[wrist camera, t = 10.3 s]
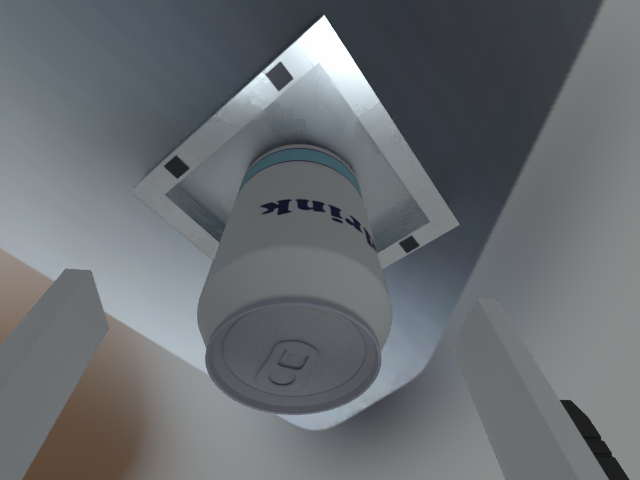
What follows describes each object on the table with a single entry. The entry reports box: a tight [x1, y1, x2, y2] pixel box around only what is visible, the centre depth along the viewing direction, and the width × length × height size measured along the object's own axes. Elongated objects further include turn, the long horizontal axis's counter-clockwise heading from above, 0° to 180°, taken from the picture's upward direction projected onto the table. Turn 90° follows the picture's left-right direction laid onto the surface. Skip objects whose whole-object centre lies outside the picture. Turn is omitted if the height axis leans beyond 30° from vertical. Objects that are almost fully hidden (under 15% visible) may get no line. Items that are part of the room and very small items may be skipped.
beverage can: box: [197, 144, 392, 415], centre depth 16 cm, size 7×7×12 cm
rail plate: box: [130, 14, 460, 269], centre depth 21 cm, size 13×13×2 cm
